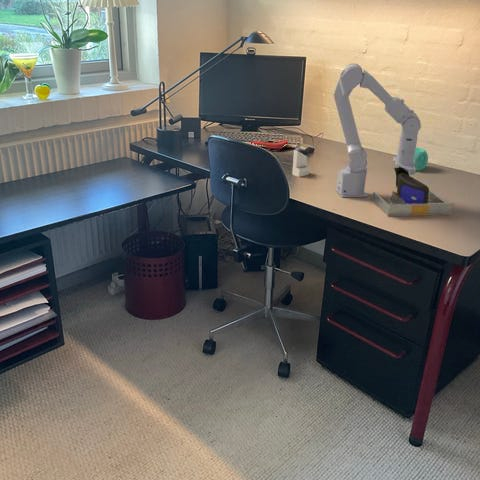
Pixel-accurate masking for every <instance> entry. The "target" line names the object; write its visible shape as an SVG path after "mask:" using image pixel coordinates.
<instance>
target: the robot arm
mask: <svg viewBox="0 0 480 480" xmlns="http://www.w3.org/2000/svg"><path fill="white" fill-rule="evenodd" d="M357 86H359V88H363V89H368V90H369V91H370V92H371V93H372V94H373V95H374V96H375V97H377V98H378V99H379V100H380V102H382V103H383V104H384V111H385V112H386V113H387V114H388V115H389V116H390V117H391V118H392V119H393V120H394V121H395V122H396V123H398V124H399V125H401V132H400V136H399V140H398V147H397V153H396V156H393V158H392V163H394V165H395V166H396V167H394V171H395V178H396V179H395V188H397V185H398V175H399V174H400V173H405V174H407V175H409V176H410V175H411V176H412V175H413V176H415V175H416V172H417V171H416V169H415V167H414V165H416V163H415V162H413V161H414V156H415V150H416V147H417V145H418V144H417V142H418V135H419V132H420V130H421V127H422V124H421V120H420V117H419V116H418V115H417V113H415V110H414V109H410V108H409V107H408V106H407V105H406V104H405V99H404V98H402V97H401V98H399V97H398V96H396V97H395V96H394V97H393V96H391V94H390V93H389V92H388V91H387V90H386V89H385V88H384V86H382V84H380V83H379V82H378V81H377V79H376V78H375V77H374V75H372V74H371V73H369V72H368V71H367V70H365V69H364V68H362V67H361V65H359V63H350V64H348V65H346V66H345V68H344V69H343V70H342V71H341V73H340V75H339V78H338V81H337V84H336V87H335V89H334V93H333V97H334V102H335V106H336V109H337V113H338V118H339V121H340V125H341V129H342V132H343V135H344V140H345V143H346V144H345V145H346V148H347V154H348V162H347V163H348V164H347V165H346V167H345V168H344V169H339V170H338V173H337V180H336V188H335V191H336V192H337V193H338V195H340V196H341V198H358V197H359V198H362V197H363V198H367V197H368V194H367V193H366V192H365V186H366V181H367V174H368V168H367V165H368V159H367V157H368V155H367V151H366V150H365V149H364V147H362V143H361V140H360V135H359V132H358V129H357V124H356V122H355V117H354V114H353V110H352V109H353V108H352V105H351V102H350V98H349V97H350V95H351V93H352V92H353V90H354V89H355V88H356V87H357Z"/></svg>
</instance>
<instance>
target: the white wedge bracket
mask: <svg viewBox="0 0 480 480" xmlns="http://www.w3.org/2000/svg"><path fill="white" fill-rule="evenodd" d="M292 158H293V160H292V161H293V162H292V174H291V175H293V176H296V177H298V178H300V177H304V176H308V175H310V171H311V166H309V165H308V163H307V162H308V156H307V155H306V154H303V152H301V151H299V150H297V149H293V157H292Z"/></svg>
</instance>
